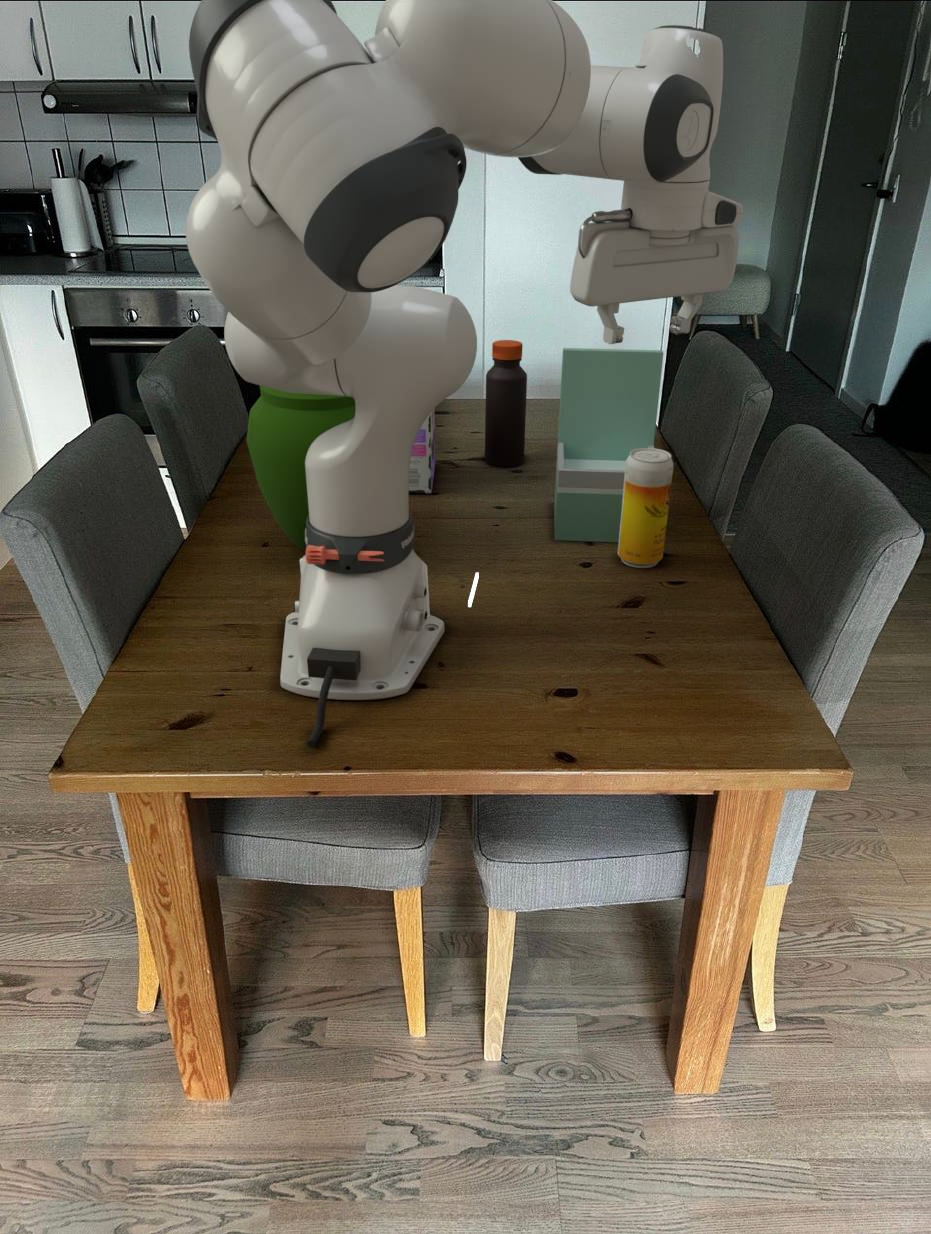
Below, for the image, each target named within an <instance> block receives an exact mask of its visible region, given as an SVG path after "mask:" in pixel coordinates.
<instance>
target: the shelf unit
mask: <svg viewBox="0 0 931 1234" xmlns="http://www.w3.org/2000/svg"><path fill="white" fill-rule="evenodd" d="M663 362H664V350H661V349H621V348H620V349H619V348H585V347H583V348H582V347H581V348H579V347H578V348H577V347H563V348H562V360H561V378H560V394H559V395H560V396H559V398H560V399H559V412H558V413H559V414H558V433H557V447H556V448H557V449H556V450H557V451H556V467H555V468H556V469H555V485H554V501H553V502H554V504H553V505H554V506H553V512H554V513H553V514H554V516H553V517H554V518H553V521H554V524H553V525H554V541H569V542H592V543H593V542H595V543H618V542H619V531H620V520H621V510H622V499H623V488H624V477H625V466H626V460H627V458H628V457H629V455H630V452H631V451H632V450H635V449H639V448H655V437H656V427H657V417H658V408H659V400H660V399H659V398H660V391H661V390H660V389H661V381H662V380H661V379H662V371H663V370H662V369H663Z"/></svg>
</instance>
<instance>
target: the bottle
mask: <svg viewBox="0 0 931 1234" xmlns="http://www.w3.org/2000/svg"><path fill="white" fill-rule="evenodd" d="M491 345H492V346H491V357H492V361H493V365H492V366H491V367H490V368H489V370H488V371H487V372H486V374H485V416H484V418H485V419H484V420H485V421H484V460H485V462H486V463H487V464H489V465H490V466H491V465H492V466H494V467H499V468H501V467H503V468H507V467H508V468H509V467H510V468H511V467H517V466H519V465H521V464H522V463H523V462H524V460H525V447H526V446H525V444H526V443H525V442H526V418H527V417H526V416H527V392H528V391H527V388H528V374H527V372H526V371H525V370H524V368H523V367H522V366H521V361H522V359H523V343H522V341H519V340H513V339H500V340H495V341H493V342H492V344H491Z"/></svg>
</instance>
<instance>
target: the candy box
mask: <svg viewBox="0 0 931 1234" xmlns="http://www.w3.org/2000/svg"><path fill="white" fill-rule="evenodd" d="M435 408H436V407H435ZM435 408H434V410H433V411H432V412H431V413H430V414H429V415H428V417H427V418H426V419H425V421H424V422H423V424H422V426H421V427H420V429H419V431H418V433H417V436H416V438H415V441H414V444H413V447H412V452H411V458H410V471H409V494H432V491H433V484H434V477H435V469H436V413H435V412H436V410H435Z"/></svg>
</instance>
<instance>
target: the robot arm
mask: <svg viewBox="0 0 931 1234" xmlns="http://www.w3.org/2000/svg"><path fill="white" fill-rule="evenodd" d="M189 29H190V30H189V38H188V52H189V60H190V65H191V72H192V76H193V81H194V84H195V89H196V93H197V101H196V103H197V104H196V119H197V124H198V128H199V130H200V132H201V133H203V134H204V135H207V136H209V137H210V138H213V139H214V140H215V141H217V143H218V146H219V151H220V155H221V156H220V157H221V160H220V161H221V162H220V166H219V169H218V170H217V172H216V173H214V174H213V176H211V178H209V179H208V180H207V181H206V182H205V183H203V185H202V186H201V187H200V188H199V189H198V191H197V192H196V194H195V196H194V197H193V199H192V201H191V204H190V205H189V208H188V212H187V216H186V222H185V241H186V245H187V249H188V253H189V256H190V258H191V260H192V263H193V264H194V266H195V268H196V270H197V272H198V273H199V275H200V277H201V279H202V280H203V282H204V283H205V285H206V286H207V288H208V289H209V291H210V292H211V293H212V294H213V296H214V297H215V298H216V300H217V301H218V302H219V303H220V304H221V305H222V307H224V309H225V310H227V314H226V317H225V322H224V329H223V330H224V331H223V335H224V337H223V338H224V345H225V349H226V353H227V356H228V359H229V361H230V362H231V365H232V366H233V368H234V370H235V371H236V372H237V374H238V375H239V376H240V377H241V378H242V379H243V380H244V381H245V382H247V383H251V384H254V385H257V386H259V387H260V386H264V387H268V388H271V389H275V390H279V391H284V392H288V393H299V394H316V395H333V396H348V397H353V398H354V399H355V417H354V418H353V419H351V420H349V421H347V422H344V423H342V424H340V425H337V426H335V427H333V428H331V429H329V430H328V431H326V432H324V433H323V434H321V435H320V436H319V437H317V438H316V439H315V440H314V442H313V443H312V444H311V446H310V447H309V450H308V452H307V455H306V459H305V470H306V483H307V495H308V507H309V515H308V517H307V519H306V530H305V542H306V552H305V554H304V555H303V556H302V557H301V558H300V559H299V568H300V584H299V585H300V586H299V600H295V601H294V603H293V611H294V612H291V613H289V614H288V615H287V616H286V617H285V625H284V636H283V645H282V646H283V648H282V655H281V665H280V675H279V676H280V677H279V678H280V679H279V684H280V687H281V688H282V689H284V690H286V691H288V692H291V693H294V694H296V695H300V696H306V697H311V698H318V700H317V705H316V716H315V723H314V727H313V731H312V732H311V734H310V736H309V738H308V740H307V742H306V746H308V747H309V748H314V747H315V746H316V744H317V742H318V740H319V739H320V736H321V735H322V732H323V730H324V729H323V728H324V725H325V717H326V708H327V701H328V700H339V701H342V700H343V701H370V700H381V699H389V698H394V697H398V696H402V695H405V694H407V693H408V692H409V691H410V690H411V688H412V686H413V685H414V683H415V681H416V679H418V676H419V675H420V673H421V671H422V670H423V668H424V666H425V665H426V663H427V662H428V660H429V658H430V657H431V655H432V653H433V651H434V650H435V648H436V647H437V645H438V643H439V642H440V640H441V638H442V636H443V635H444V633H445V622H444V621H443V619H440V618H438V617H437V616H434V615H432V614H431V612H430V610H431V608H430V593H429V575H428V565H427V563H425V561H424V560H422V559H421V558H420V557H419V556H418V554H417V552H415V550H414V546H415V544H414V543H415V538H414V537H415V525H414V519H413V514H412V512H410V506H409V505H410V503H409V502H410V500H409V499H410V497H409V496H410V495H409V494H410V493H409V471H410V458H411V452H412V447H413V444H414V441H415V438H416V436H417V433H418V431H419V429H420V427H421V426H422V424H423V422H424V421H425V419H426V418H427V417H428V415H429V414H430V413H431V412H432V411H433V410H434V408H436V407H437V406H439V404H441V403H443V401H445V400H446V399H448V398H449V397H450V396H452V395H454V394H455V393H456V392H457V391H459V390H460V389H461V387H462V386H463V385H464V384H465V382H466V381H467V380H468V378H469V376H470V374H471V373H472V371H473V367H474V365H475V362H476V359H477V352H478V337H477V329H476V327H475V323H474V320H473V317H472V316H471V314H470V313H469V311H468V309H467V306H466V305H464V303H463V301H461V300H460V299H459V298H458V297H457V296H455V295H454V296H453V295H450V294H448V293H447V294H446V293H443V292H441V291H436V290H432V289H427V288H425V287H424V288H423V287H419V286H414V285H399V284H401V283H402V282H404V281H405V280H407V279H408V278H411V277H412V276H413V275H415V274H416V273H417V272H419V271H420V270H421V269H422V268H423V267H425V266H426V265H427V264H428V263H429V262H430V261H431V260H432V259H433V258H434V257H435V255H436V254H437V253H438V252H439V251H440V249H441V248H442V246H443V244H444V243H445V241H446V240H447V237H448V235H449V232H450V229H451V227H452V224H453V222H454V219H455V215H456V212H457V208H458V204H459V189H460V188H461V186H462V184H463V181H464V179H465V176H466V172H467V166H468V165H467V164H468V163H467V162H468V161H467V156H466V151H465V149H466V150H470V151H473V152H477V153H480V154H484V155H488V156H492V157H494V156H495V157H499V158H517V159H518V160H519V162H520V163H521V165H523V167H524V168H526V170H527V171H529V172H530V173H532V174H536V175H550V176H551V175H553V176H554V175H556V176H563V175H567V176H577V177H585V178H592V179H593V178H595V179H602V180H611V181H612V180H613V181H621V182H623V187H622V196H621V204H620V209H615V210H609V211H606V210H597V211H594V212H592V213H591V216H588V217H587V218H586V219H584V221H583V223H581V225H580V227H579V230H578V238H577V247H576V250H575V251H576V252H575V256H574V261H573V265H572V269H571V271H572V272H571V277H570V284H569V292H570V295H571V296H572V298H573V299H574V301H575V302H578V303H580V304H581V305H583V306H584V305H585V306H587V307H596V312H597V314H598V316H599V318H600V320H601V323H602V325H603V334H602V335H603V336H602V339H603V341H604V343H605V344H608V345H615V344H622V343H623V341H624V337H623V335H624V334H625V327H623V326H621V325H618V322H617V320H616V316H615V314H619V311H620V304H627V303H634V302H635V303H636V302H645V301H652V300H660V299H668V298H669V299H670V298H676V297H677V298H678V297H680V299H681V301H683V303H682V304H681V306H680V309H679V310H678V313H677V314H676V315H674V316H671V319H670V324H671V325H670V326H669V331H670V333H671V334H675V335H676V336H680V335H687V334H689V333H690V330H691V323H692V319H693V318H695V315H696V314H697V312H698V310H699V309H700V307H701V306H702V305H703V299H704V294H713V293H720V292H725V291H727V290H728V288H729V286H730V285H731V284H732V282H733V280H734V277H735V272H736V267H737V261H738V255H739V246H740V245H739V244H740V235H739V231H738V228H736V226H737V225H739V224H740V223H741V221H742V219H743V214H744V206H743V205H742V203H740V202H737V201H735V200H732V199H730V198H727V197H724V196H722V195H720V194H717V193H716V192H713V191H710V190H709V188H710V182H711V165H710V155H711V151H712V146H713V143H714V141H715V139H716V137H717V133H718V128H719V122H720V121H719V120H720V115H721V108H722V107H721V106H722V105H721V104H722V95H723V85H724V84H723V83H724V45H723V41H722V39H721V38H720V37H719V36H718V35H716V33H714V32H712V31H710V30H708V29H705V28H702V27H701V28H700V27H699V28H698V27H693V26H690V25H679V24H678V25H676V24H669V25H661V26H657V27H654V28H652V29H650V30H649V31H648V32H647V33H646V36H645V39H644V42H643V45H642V50H641V54H640V59H639V62H638V63H636V64H635V65H634V66H633V67H632V66H613V65H611V66H610V65H593V64H592V62H591V54H590V50H589V46H588V43H587V40H586V38H585V36H584V34H583V31H582V29H580V27H579V25H578V24H577V22H576V21H575V20H574V19H573V17H572V16H571V15H570V14H569V13H568V12H567V11H566V10H565V9H564V8H563V7H561V6H560V4H558V3H557V2H555V1H554V0H385V1H384V2H383V5H382V7H381V9H380V12H379V15H378V17H377V21H376V26H375V31H374V36H373V37H371V38H369V39H367V40H364V42H363V44H364V45H363V44H362V43H361V41H360V40H359V39H358V38H357V36H356V35H355V34H354V33H353V32H352V31H351V29H350V28H349V27H348V25H347V24H346V23H345V22H344V21H343V20H342V19H341V17H339V15H338V13H337V10H336V7H335V5H334V3H333V2H332V1H331V0H201V1H200V3H199V4H198V7H197V8H196V11H195V12H194V16H193V18H192V21H191V26H190V28H189ZM688 33H689V36H690V39H691V38H692V37H693V39H694V40H697V39H698V41H699V47H700V53H699V54H698V57H697V55H696V54H695V53H694V52H692V49H691V47H688V46H687V44H686V36H687V34H688ZM364 46H365V47H364ZM479 573H480V572H475V575H474V579H473V583H472V585H471V586H472V587H471V591H470V593H469V597H468V600H467V601H468V602H467V608H472V604H473V600H474V598H475V593H476V589H477V585H478V581H479Z"/></svg>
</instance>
